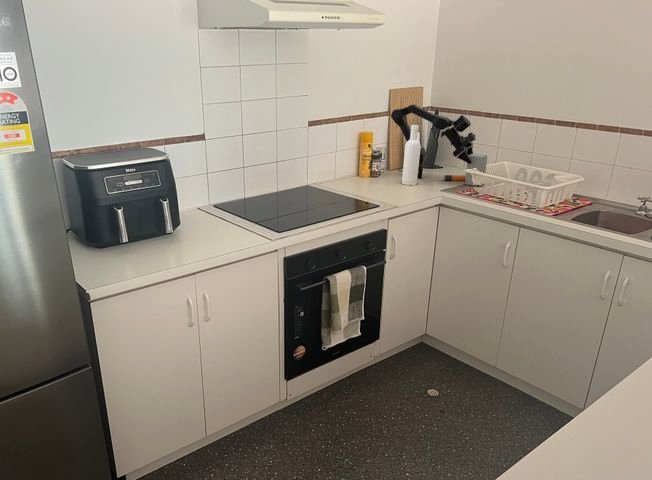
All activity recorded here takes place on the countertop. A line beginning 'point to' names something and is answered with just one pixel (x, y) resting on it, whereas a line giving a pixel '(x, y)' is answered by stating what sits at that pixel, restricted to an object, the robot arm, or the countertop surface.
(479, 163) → the cosmetic box
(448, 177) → the orange marker
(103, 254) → the countertop surface
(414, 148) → the bottle
